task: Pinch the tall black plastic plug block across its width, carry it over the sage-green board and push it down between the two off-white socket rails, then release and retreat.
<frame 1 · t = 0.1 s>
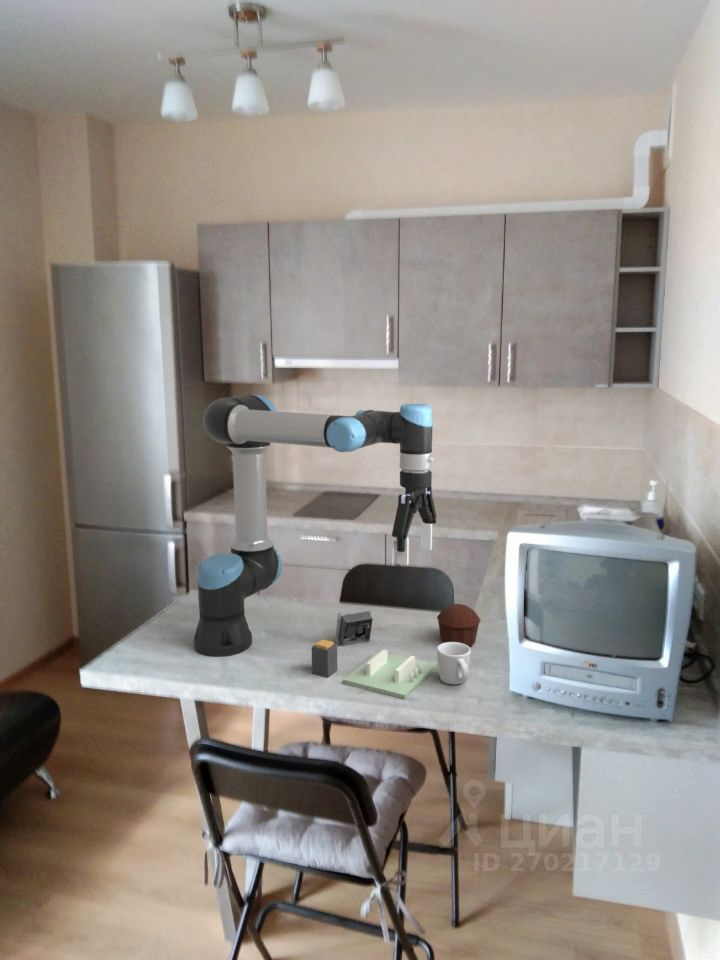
hand: (414, 556, 181), 28 cm above the table, fingers open, 13 cm apart
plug: (324, 672, 183), on the table
muffin: (458, 643, 200), on the table
cup: (455, 683, 177), on the table
electrical switch: (355, 643, 200), on the table
board: (391, 675, 181), on the table
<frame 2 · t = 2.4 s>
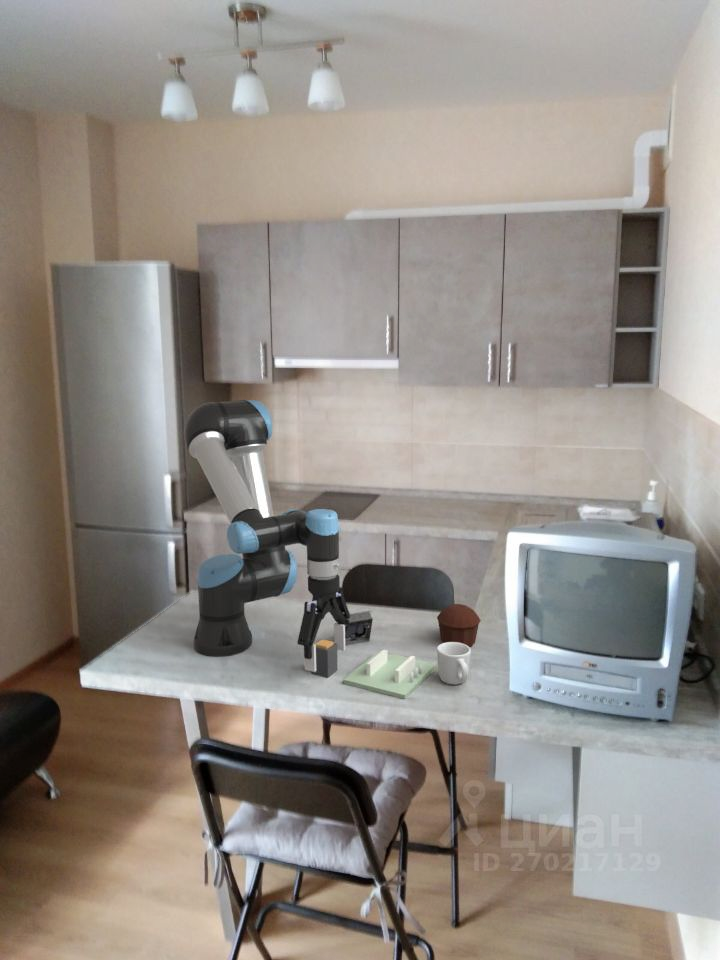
hand: (325, 659, 181), 3 cm above the table, fingers open, 13 cm apart
nothing on the table moved.
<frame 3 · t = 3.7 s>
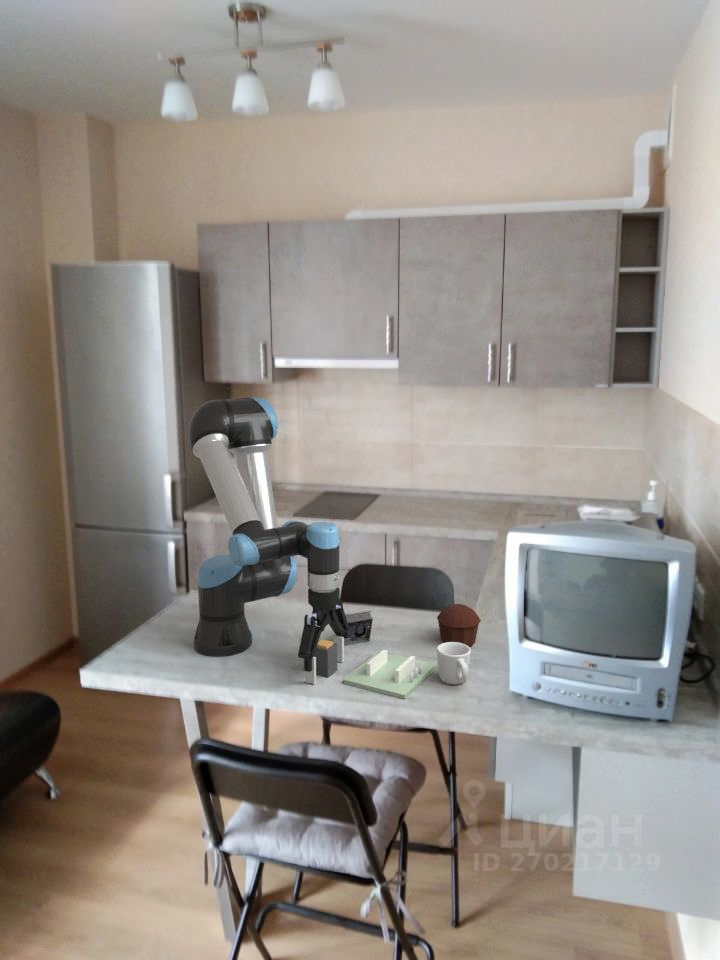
hand: (324, 671, 182), 0 cm above the table, fingers open, 12 cm apart
nothing on the table moved.
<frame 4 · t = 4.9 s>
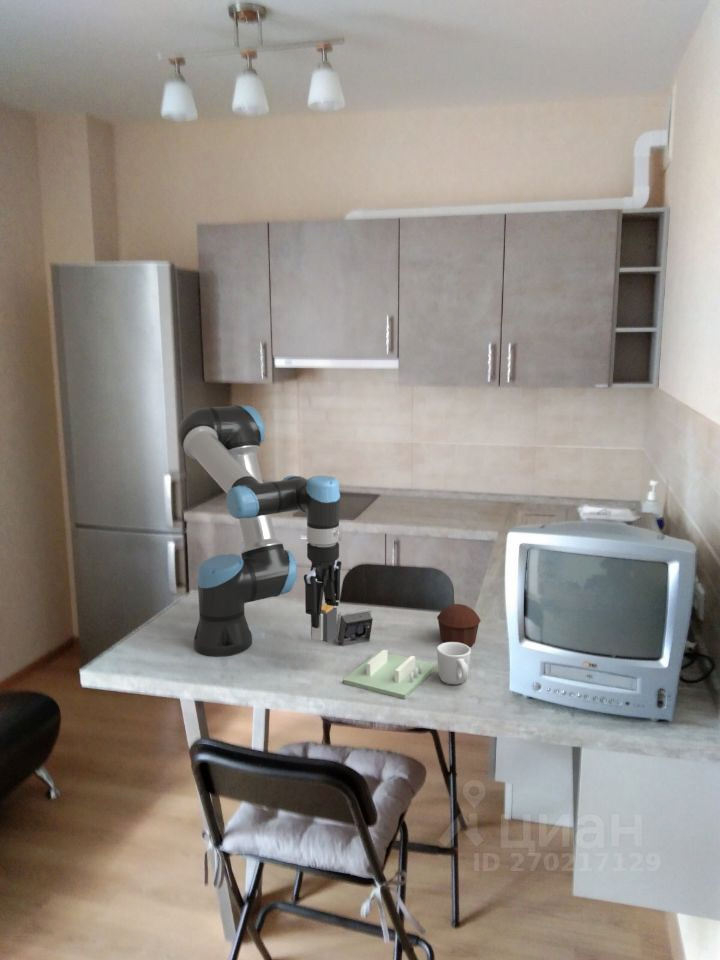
hand: (323, 634, 181), 9 cm above the table, fingers closed on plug, 4 cm apart
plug: (324, 636, 181), point 9 cm above the table, touching gripper
everything else where it was.
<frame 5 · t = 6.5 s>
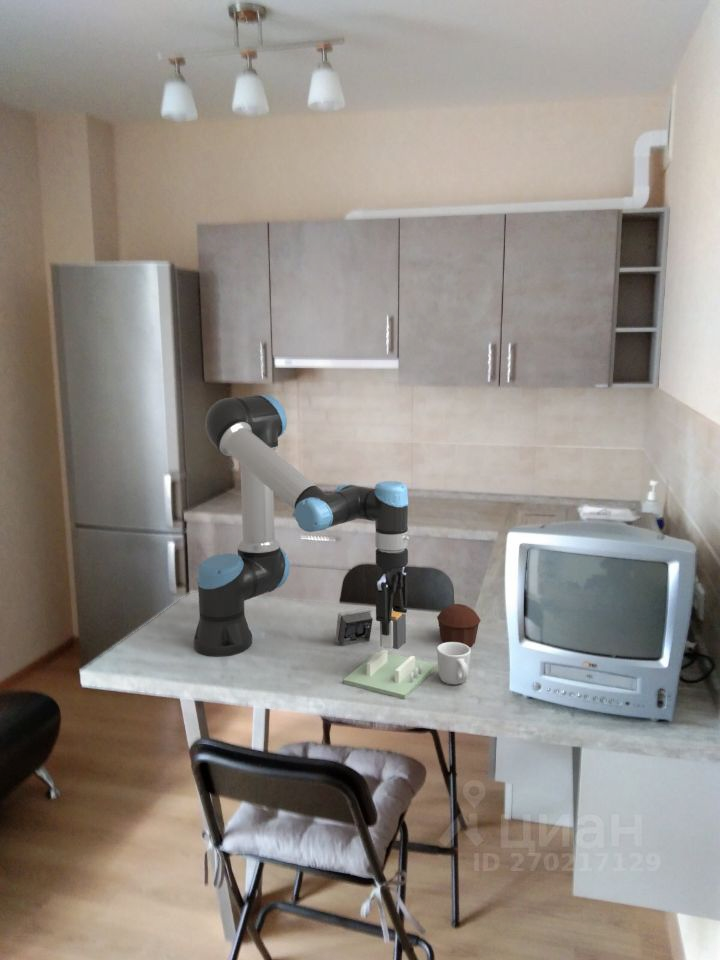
hand: (392, 642, 179), 9 cm above the table, fingers closed on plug, 4 cm apart
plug: (393, 644, 179), point 8 cm above the table, touching gripper
everything else where it was.
when the fingers open (2 cm above the table, at t = 8.5 s): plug stays where it is, resting on board.
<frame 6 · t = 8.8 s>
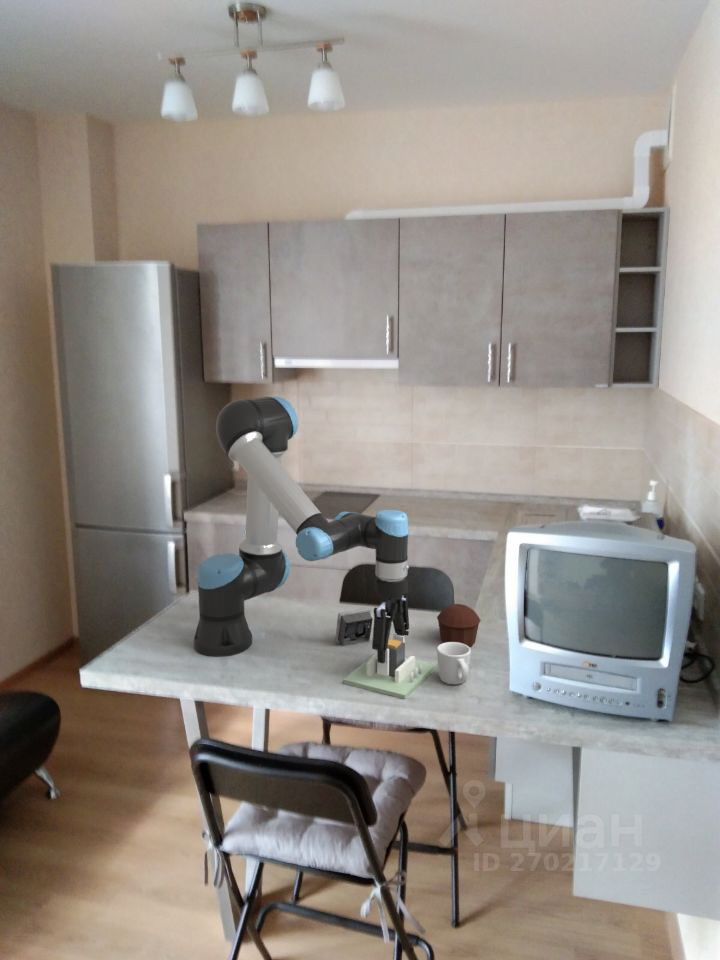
hand: (391, 667, 180), 2 cm above the table, fingers open, 8 cm apart
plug: (392, 671, 180), point 1 cm above the table, touching board
everything else where it was.
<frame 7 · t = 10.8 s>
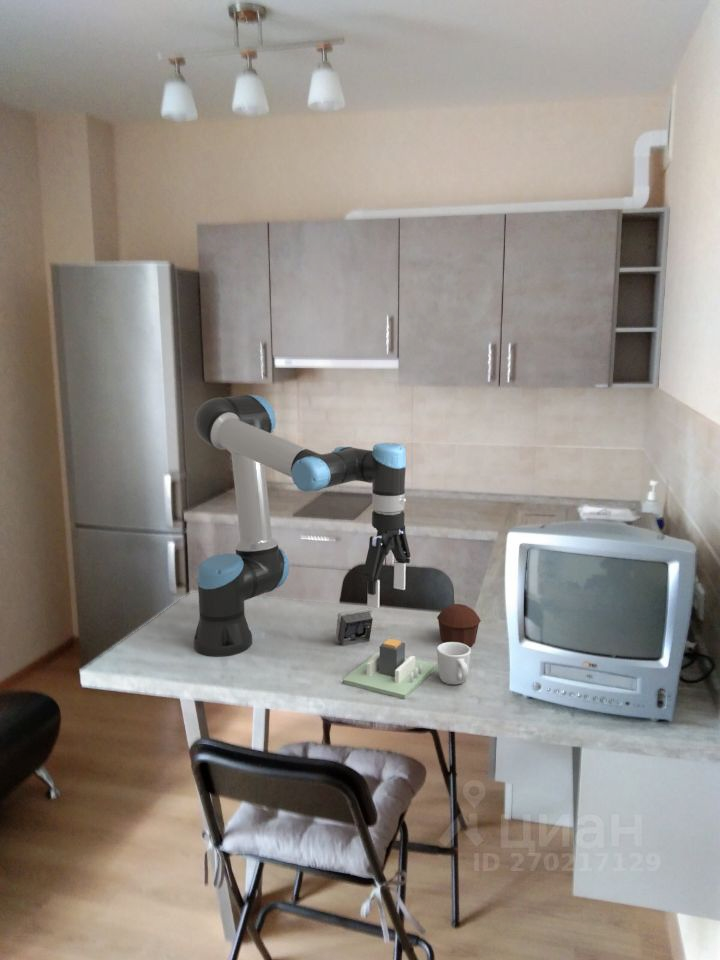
hand: (386, 597, 178), 19 cm above the table, fingers open, 13 cm apart
nothing on the table moved.
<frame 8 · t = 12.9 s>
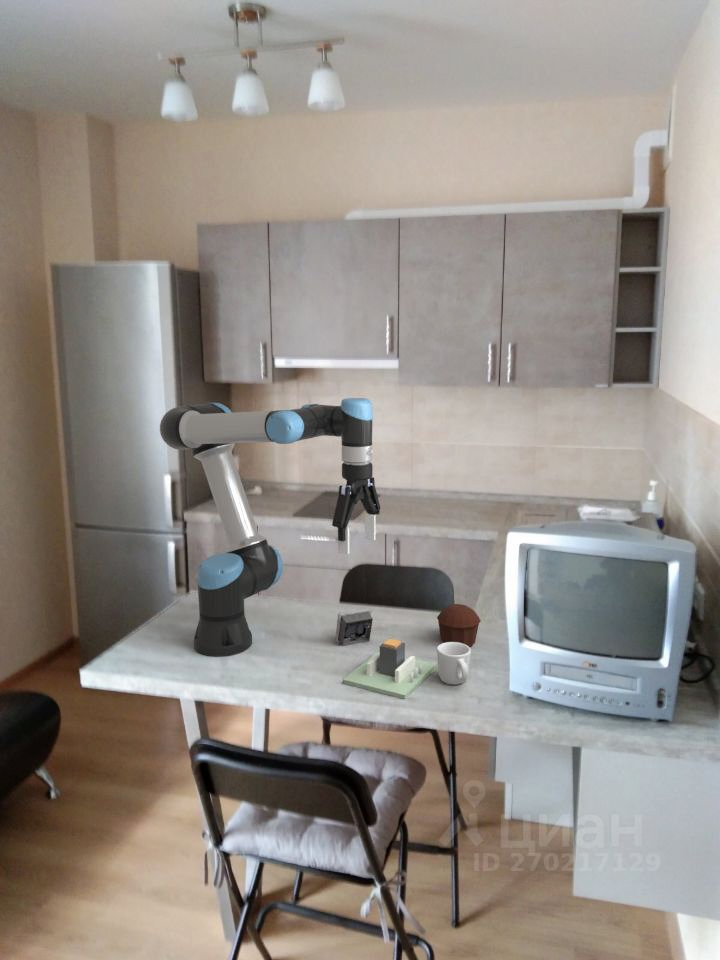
hand: (357, 546, 187), 29 cm above the table, fingers open, 13 cm apart
nothing on the table moved.
at the end: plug inside the target area on the board (0.3 cm from its centre), point 1.0 cm above the board's base; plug tilted 0°; the gripper is holding nothing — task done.
